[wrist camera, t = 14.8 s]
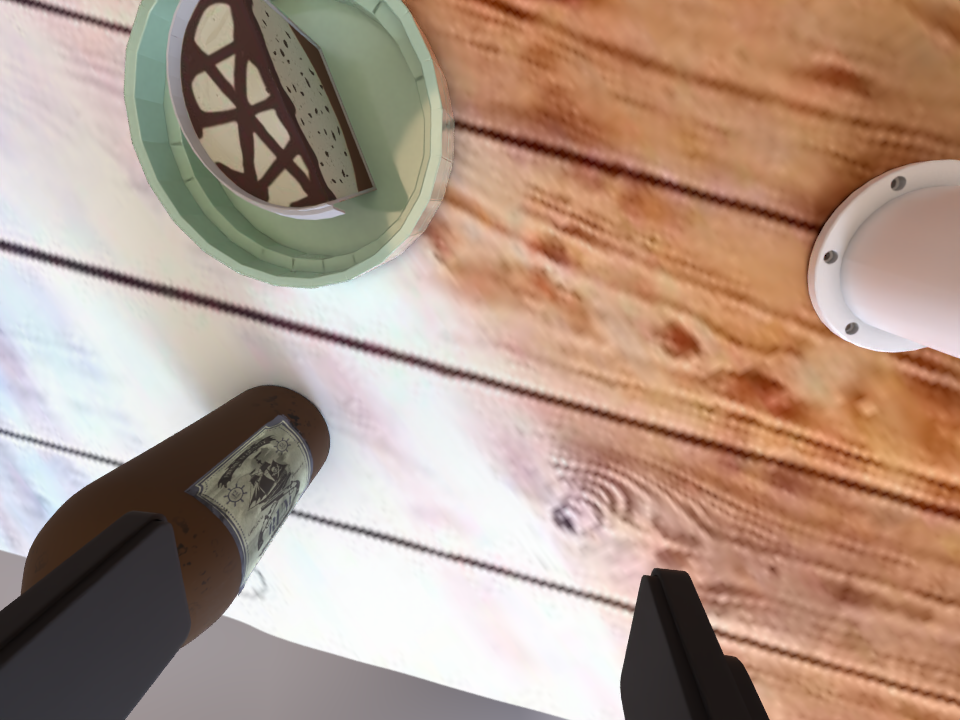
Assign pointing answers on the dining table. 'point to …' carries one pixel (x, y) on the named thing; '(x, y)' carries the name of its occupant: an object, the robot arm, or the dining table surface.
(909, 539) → the dining table surface
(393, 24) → the bowl
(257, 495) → the olive oil
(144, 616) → the robot arm
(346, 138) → the food container
